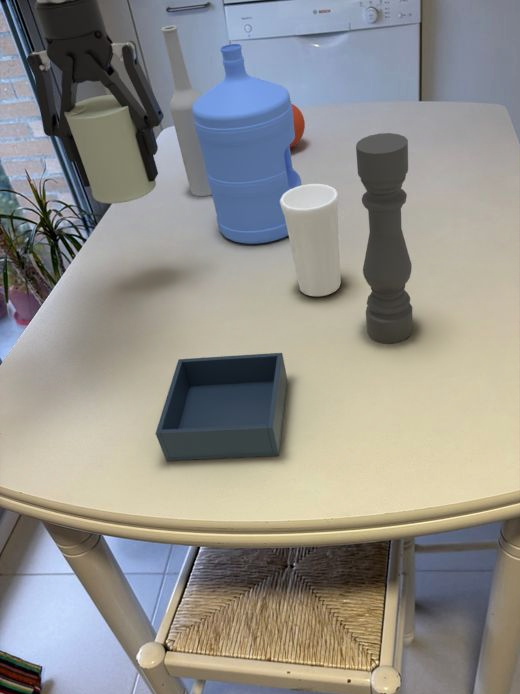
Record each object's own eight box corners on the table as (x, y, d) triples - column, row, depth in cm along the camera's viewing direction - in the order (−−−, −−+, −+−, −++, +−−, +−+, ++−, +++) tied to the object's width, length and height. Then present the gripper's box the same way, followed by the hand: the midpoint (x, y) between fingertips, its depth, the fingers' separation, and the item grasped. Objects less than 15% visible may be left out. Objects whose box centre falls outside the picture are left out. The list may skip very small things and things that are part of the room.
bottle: (230, 187, 127) (195, 24, 108) (202, 199, 125) (161, 34, 105) (212, 178, 131) (175, 20, 112) (184, 190, 129) (142, 30, 109)
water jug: (246, 256, 107) (206, 71, 88) (204, 224, 117) (161, 51, 98) (324, 223, 112) (303, 41, 93) (278, 195, 122) (251, 26, 103)
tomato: (253, 147, 141) (244, 98, 134) (296, 135, 143) (289, 86, 136) (270, 162, 134) (262, 111, 127) (315, 149, 136) (309, 98, 129)
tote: (166, 461, 75) (155, 433, 72) (187, 386, 84) (178, 359, 81) (279, 455, 73) (272, 427, 70) (287, 380, 83) (282, 352, 80)
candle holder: (375, 314, 91) (364, 131, 74) (418, 319, 89) (416, 133, 72) (361, 340, 87) (345, 153, 70) (405, 346, 85) (401, 155, 68)
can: (82, 192, 95) (50, 106, 87) (136, 171, 99) (111, 86, 91) (111, 209, 89) (81, 119, 81) (168, 186, 93) (144, 97, 85)
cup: (358, 283, 97) (350, 192, 87) (319, 308, 94) (307, 216, 84) (320, 267, 102) (309, 178, 92) (282, 290, 98) (267, 200, 88)
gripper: (157, -21, 79) (199, 163, 95) (-9, -2, 81) (58, 175, 97) (143, -8, 74) (189, 185, 89) (-35, 12, 76) (41, 197, 92)
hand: (121, 180), depth 93 cm, fingers closed on can, 9 cm apart
